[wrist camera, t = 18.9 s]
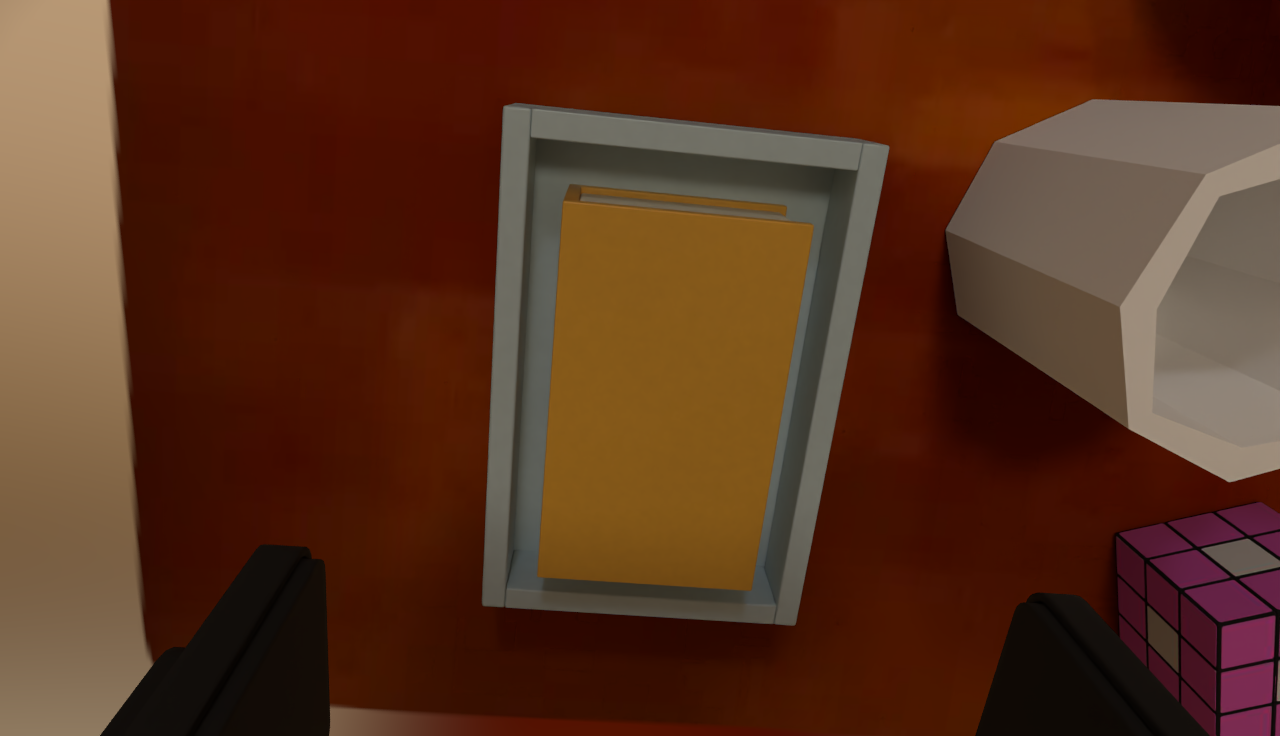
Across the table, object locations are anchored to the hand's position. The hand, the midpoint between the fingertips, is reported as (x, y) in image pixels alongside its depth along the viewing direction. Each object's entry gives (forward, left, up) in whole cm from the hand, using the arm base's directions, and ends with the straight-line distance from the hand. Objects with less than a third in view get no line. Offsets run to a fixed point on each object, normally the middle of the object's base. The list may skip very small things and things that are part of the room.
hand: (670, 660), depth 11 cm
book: (+1, -2, -17) cm, 17 cm away
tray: (+1, -2, -18) cm, 18 cm away
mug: (+16, +4, -18) cm, 25 cm away
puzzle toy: (+23, -9, -18) cm, 31 cm away
